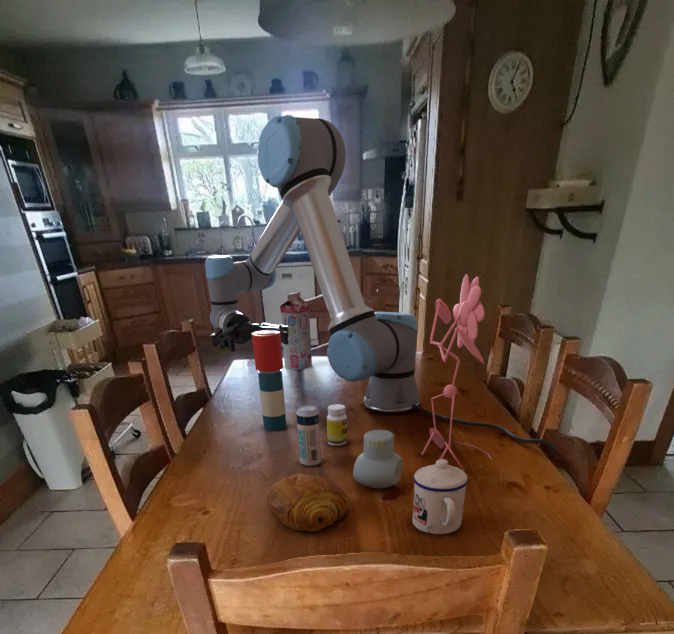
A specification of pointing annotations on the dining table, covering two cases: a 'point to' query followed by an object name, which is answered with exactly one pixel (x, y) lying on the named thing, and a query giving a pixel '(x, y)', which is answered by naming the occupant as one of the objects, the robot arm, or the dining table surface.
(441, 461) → the teacup with lid
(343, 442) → the supplement bottle
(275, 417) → the spray can
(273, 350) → the cap
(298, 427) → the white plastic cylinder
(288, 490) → the croissant
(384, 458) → the air freshener
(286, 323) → the juice carton
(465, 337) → the figurine
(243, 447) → the dining table surface
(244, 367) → the dining table surface
